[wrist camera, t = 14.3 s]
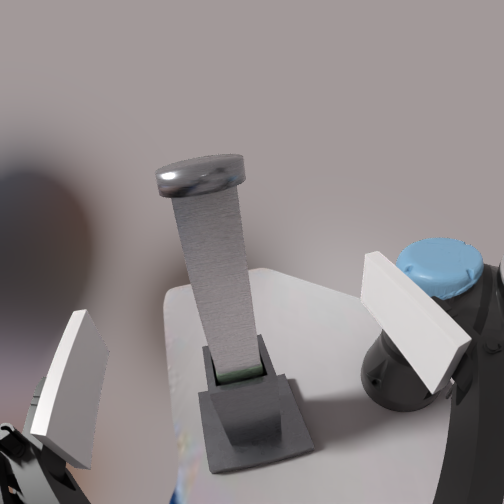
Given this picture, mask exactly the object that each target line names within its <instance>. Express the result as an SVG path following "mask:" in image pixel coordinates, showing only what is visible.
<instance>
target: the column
mask: <svg viewBox="0 0 504 504" xmlns="http://www.w3.org/2000/svg"><path fill="white" fill-rule="evenodd" d="M155 175H156V180H157V185H158V190H159V194H160V196H162V197H167V198H171V199H172V205H173V210H174V214H175V219H176V223H177V228H178V232H179V237H180V241H181V245H182V249H183V254H184V258H185V262H186V266H187V270H188V274H189V278H190V281H191V286H192V289H193V293H194V297H195V301H196V304H197V308H198V312H199V315H200V319H201V322H202V326H203V329H204V333H205V336H206V339H207V343H208V346H209V349H210V353H211V356H212V359H213V362H214V365H215V369H216V374H217V378H218V381H219V383H220V384H221V386H222V385H227V384H232V383H237V382H241V381H246V380H250V379H254V378H259V377H263V376H262V374H263V368H262V364H261V361H260V355H259V348H258V341H257V333H256V326H255V319H254V312H253V304H252V297H251V290H250V282H249V275H248V268H247V261H246V253H245V246H244V238H243V230H242V223H241V215H240V208H239V200H238V192H237V185H239V184H241V183H242V182H244V181H245V179H246V176H245V168H244V159H243V156H242V155H237V154H222V155H211V156H204V157H198V158H193V159H188V160H184V161H180V162H176V163H173V164H170V165H167V166H164V167H162V168H160V169H158V170H156V172H155Z"/></svg>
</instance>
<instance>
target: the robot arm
mask: <svg viewBox="0 0 504 504" xmlns="http://www.w3.org/2000/svg"><path fill="white" fill-rule="evenodd" d="M360 301H361V302H362V303H363V304H364V306H365V307H366V308H367V309H368V311H369V312H370V313H371V314H372V316H373V317H374V318H375V319H376V321H377V322H378V323H379V324H380V326H381V327H382V328H383V329H382V333H381V334H380V336H379V337H378V338H377V340H376V341H375V342H374V344H373V345H372V346H371V347H370V349H369V350H368V352H367V353H366V355H365V358H364V361H363V365H362V369H361V380H362V384H363V387H364V389H365V391H366V392H367V394H368V395H369V396H370V397H371V398H372V399H373V400H374V401H375V402H376V403H378V404H379V405H381V406H383V407H385V408H387V409H390V410H394V411H401V412H408V411H414V410H418V409H421V408H423V407H425V406H427V405H428V404H430V403H431V402H432V401H433V400H434V399H435V398H436V397H437V396H438V394H439V393H440V391H441V389H443V388H444V387H446V385H447V384H448V382H449V381H450V379H451V377H452V379H453V380H454V381H455V382H454V384H453V386H452V387H451V389H450V390H449V392H448V393H447V396H446V399H448V398H449V397H450V395H451V394H452V398H451V399H452V403H451V414H450V423H449V431H448V438H447V444H446V450H445V455H444V460H443V465H442V470H441V474H440V479H439V483H438V487H437V490H436V494H435V498H434V501H433V504H502V503H503V498H504V255H503V257H502V260H501V263H500V265H499V267H495V266H491V265H487V264H483V259H482V256H481V254H480V253H479V251H478V250H477V249H476V248H474V247H473V246H471V245H466V244H465V242H463V241H459V240H455V239H450V238H428V239H424V240H420V241H418V242H415V243H412V244H410V245H409V246H407V247H406V248H405V249H404V250H403V251H402V252H401V253H400V255H399V257H398V259H397V262H396V266H395V265H394V264H393V263H392V262H391V261H389V260H388V259H387V258H386V257H385V256H384V255H382V254H381V253H380V252H379V251H376V252H372V253H368V254H365V262H364V272H363V282H362V290H361V298H360ZM109 352H110V351H109V350H108V348H107V346H106V344H105V343H104V341H103V339H102V337H101V336H100V334H99V332H98V330H97V329H96V327H95V325H94V323H93V321H92V319H91V317H90V315H89V313H88V311H87V310H79V311H74V312H73V314H72V316H71V318H70V320H69V323H68V325H67V327H66V329H65V332H64V334H63V337H62V339H61V341H60V344H59V346H58V349H57V351H56V354H55V356H54V359H53V362H52V364H51V367H50V370H49V372H48V375H47V377H43V378H42V379H41V381H40V382H39V383H38V385H37V386H36V389H35V392H34V395H33V397H34V398H32V401H31V406H30V407H29V411H28V414H27V418H26V421H25V425H24V428H23V432H22V434H21V433H20V432H19V431H17V429H15V428H14V427H13V426H12V425H11V424H9V423H3V424H1V425H0V504H91V503H90V502H89V500H88V499H87V497H86V496H85V495H84V493H83V492H82V490H81V489H80V487H79V486H78V484H77V483H76V481H75V479H74V478H73V476H72V474H71V473H70V472H69V471H68V469H67V468H66V462H67V463H69V464H70V465H72V466H73V467H74V468H80V469H88V470H90V469H91V458H92V448H93V440H94V433H95V425H96V419H97V412H98V406H99V401H100V395H101V390H102V384H103V379H104V375H105V370H106V365H107V361H108V356H109ZM8 486H10V487H11V488H13V494H12V493H10V492H9V488H8Z"/></svg>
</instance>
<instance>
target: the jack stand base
mask: <svg viewBox="0 0 504 504" xmlns="http://www.w3.org/2000/svg"><path fill="white" fill-rule="evenodd" d="M257 341H258V348H259V355H260V361H261V364H262V368H263V374H262V376H263V377H259V378H254V379H250V380H246V381H241V382H237V383H232V384H227V385H222V386H221V384H220V383H219V381H218V378H217V374H216V369H215V365H214V362H213V359H212V356H211V353H210V349H209V346H204V347H202V348H203V355H204V363H205V370H206V378H207V384H208V391H205V392H199V393H198V395H199V403H200V411H201V419H202V426H203V433H204V439H205V446H206V452H207V458H208V464H209V470H210V472H211V473H212V474H215V473H221V472H228V471H233V470H239V469H244V468H249V467H254V466H259V465H263V464H267V463H271V462H275V461H279V460H283V459H287V458H290V457H294V456H297V455H300V454H304V453H307V452H310V451H313V450H314V447H315V446H314V444H313V441H312V439H311V437H310V434H309V432H308V430H307V427H306V425H305V422H304V420H303V418H302V415H301V413H300V410H299V408H298V405H297V403H296V401H295V398H294V396H293V393H292V391H291V388H290V386H289V383H288V381H287V379H286V376H285V374H282V375H278V376H276V373H275V370H274V368H273V365H272V362H271V360H270V357H269V354H268V352H267V349H266V346H265V344H264V341H263V338H262V335H261V334H260V335H257Z"/></svg>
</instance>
